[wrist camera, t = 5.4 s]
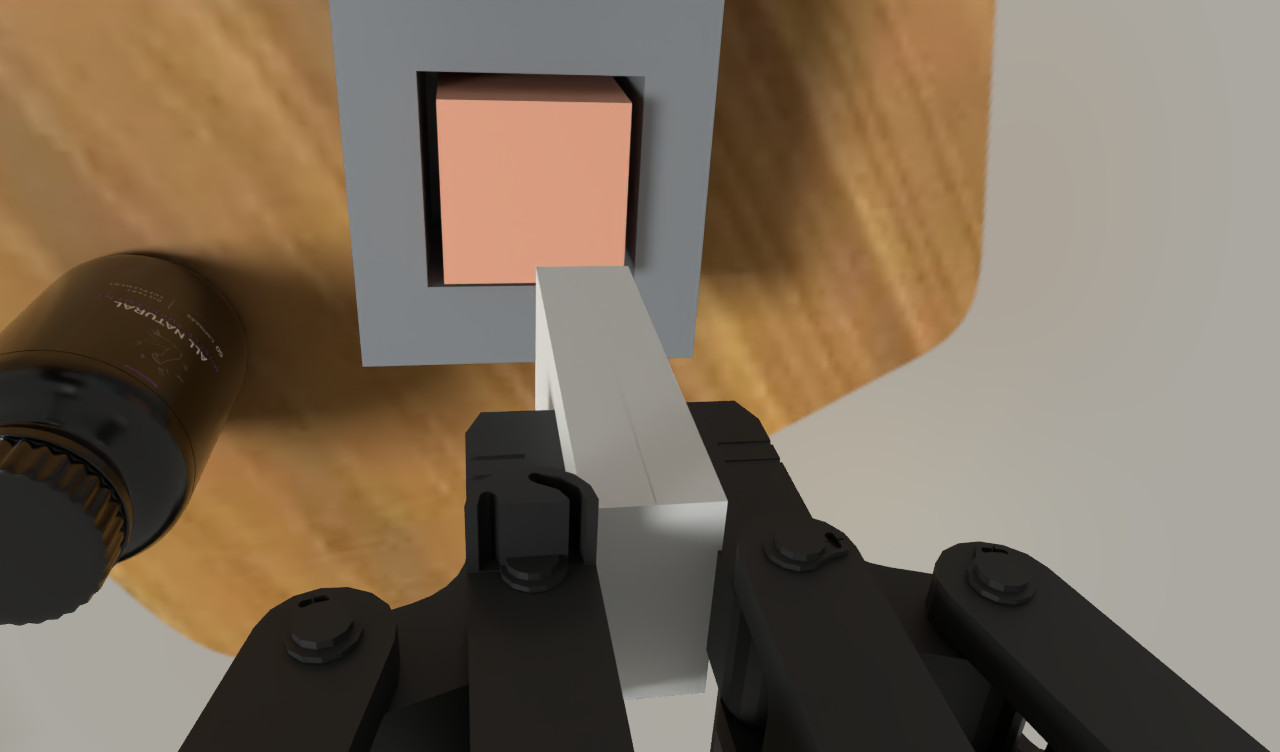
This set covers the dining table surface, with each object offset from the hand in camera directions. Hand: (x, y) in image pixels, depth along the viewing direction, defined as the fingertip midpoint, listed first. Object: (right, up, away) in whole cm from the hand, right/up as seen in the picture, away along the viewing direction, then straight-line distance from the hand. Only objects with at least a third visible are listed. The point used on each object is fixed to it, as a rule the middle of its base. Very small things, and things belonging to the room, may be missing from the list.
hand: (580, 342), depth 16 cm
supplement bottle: (-16, +1, +18) cm, 24 cm away
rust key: (-3, +7, +14) cm, 16 cm away
